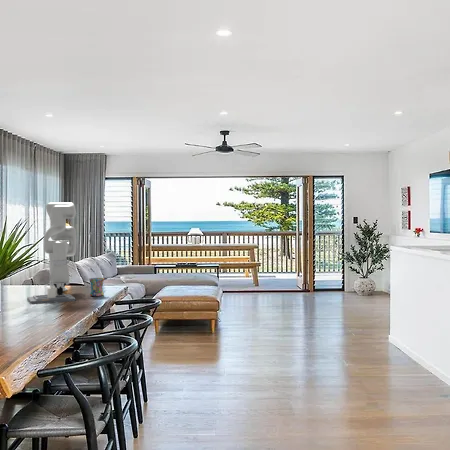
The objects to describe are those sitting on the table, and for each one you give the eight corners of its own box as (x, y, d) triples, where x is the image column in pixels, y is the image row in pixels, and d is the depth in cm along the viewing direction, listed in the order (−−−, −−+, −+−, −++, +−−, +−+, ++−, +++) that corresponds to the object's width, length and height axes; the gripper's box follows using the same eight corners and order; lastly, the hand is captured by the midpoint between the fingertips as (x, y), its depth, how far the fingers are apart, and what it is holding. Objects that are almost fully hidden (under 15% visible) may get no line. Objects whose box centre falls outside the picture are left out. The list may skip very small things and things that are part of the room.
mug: (89, 295, 320) (89, 277, 320) (105, 294, 322) (105, 277, 322) (87, 297, 309) (87, 280, 308) (103, 297, 310) (103, 279, 310)
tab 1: (47, 298, 297) (47, 286, 296) (54, 297, 298) (54, 286, 298) (48, 299, 293) (48, 287, 293) (55, 298, 295) (55, 286, 295)
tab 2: (53, 295, 306) (53, 284, 306) (60, 295, 308) (60, 284, 307) (54, 296, 302) (54, 285, 302) (61, 296, 304) (61, 284, 304)
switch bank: (27, 299, 302) (27, 295, 302) (69, 296, 313) (69, 292, 313) (30, 304, 286) (30, 299, 286) (75, 300, 297) (75, 296, 297)
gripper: (71, 262, 304) (72, 293, 304) (45, 263, 297) (45, 295, 298) (74, 263, 298) (74, 294, 298) (47, 264, 291) (47, 296, 291)
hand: (59, 294), depth 298 cm, fingers closed
